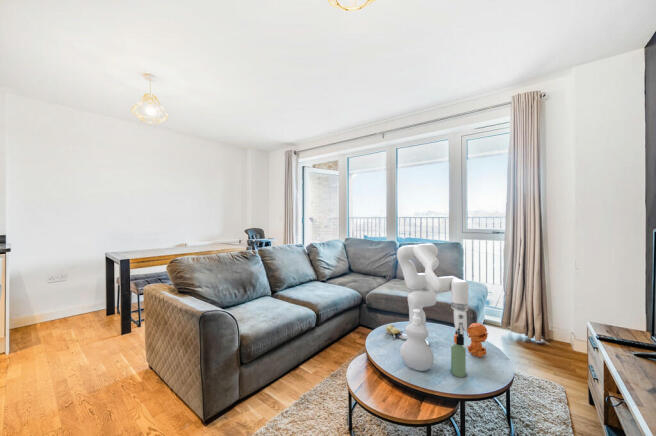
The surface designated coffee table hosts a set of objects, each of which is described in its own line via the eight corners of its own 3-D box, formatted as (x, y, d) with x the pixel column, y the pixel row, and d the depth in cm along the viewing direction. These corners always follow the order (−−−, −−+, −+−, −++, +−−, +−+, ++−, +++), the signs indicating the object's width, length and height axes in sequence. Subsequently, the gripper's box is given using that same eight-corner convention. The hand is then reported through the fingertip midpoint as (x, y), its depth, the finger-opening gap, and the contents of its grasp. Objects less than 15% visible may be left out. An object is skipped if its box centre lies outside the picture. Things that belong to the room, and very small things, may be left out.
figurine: (409, 340, 172) (390, 329, 182) (411, 332, 171) (391, 321, 181) (401, 345, 165) (381, 334, 176) (402, 337, 164) (382, 326, 175)
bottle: (451, 375, 131) (451, 338, 130) (450, 368, 137) (451, 333, 136) (466, 378, 128) (466, 341, 128) (464, 371, 134) (465, 335, 134)
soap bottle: (436, 366, 138) (436, 309, 138) (431, 377, 129) (431, 317, 128) (404, 356, 148) (404, 304, 147) (396, 366, 138) (396, 310, 138)
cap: (456, 344, 130) (456, 337, 130) (453, 340, 134) (453, 333, 134) (464, 344, 130) (464, 337, 130) (461, 340, 134) (461, 334, 134)
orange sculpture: (492, 360, 143) (492, 327, 143) (470, 358, 146) (470, 325, 145) (484, 350, 154) (484, 319, 154) (464, 348, 156) (464, 318, 156)
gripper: (471, 312, 122) (471, 352, 123) (465, 301, 138) (465, 336, 139) (453, 310, 125) (453, 349, 125) (449, 299, 141) (449, 334, 141)
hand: (459, 342), depth 132 cm, fingers closed on cap, 4 cm apart
